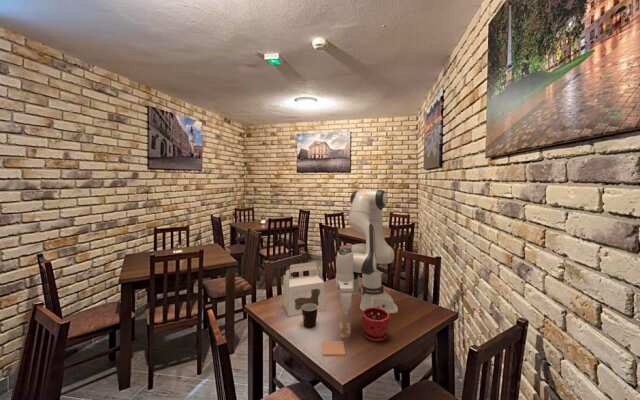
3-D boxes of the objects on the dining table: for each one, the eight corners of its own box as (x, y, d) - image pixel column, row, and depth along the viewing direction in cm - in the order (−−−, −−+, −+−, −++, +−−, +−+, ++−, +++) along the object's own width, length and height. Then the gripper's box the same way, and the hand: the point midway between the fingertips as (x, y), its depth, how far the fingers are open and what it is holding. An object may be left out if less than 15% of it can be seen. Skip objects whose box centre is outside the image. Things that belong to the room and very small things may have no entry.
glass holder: (360, 294, 191) (360, 273, 190) (339, 294, 191) (339, 273, 190) (358, 289, 200) (358, 268, 199) (338, 289, 200) (338, 269, 199)
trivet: (343, 342, 136) (343, 341, 136) (345, 355, 126) (345, 354, 126) (322, 342, 135) (322, 341, 135) (322, 355, 125) (322, 354, 125)
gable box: (288, 316, 161) (287, 268, 159) (283, 307, 174) (282, 262, 171) (324, 310, 169) (324, 264, 167) (317, 301, 181) (317, 258, 179)
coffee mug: (302, 321, 156) (302, 303, 156) (318, 321, 156) (318, 303, 155) (300, 332, 145) (300, 313, 144) (317, 332, 144) (317, 313, 144)
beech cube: (349, 332, 145) (349, 322, 145) (350, 337, 140) (350, 327, 140) (339, 332, 145) (339, 322, 145) (340, 337, 140) (340, 327, 140)
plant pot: (356, 336, 141) (356, 313, 140) (372, 326, 150) (372, 304, 149) (379, 347, 132) (379, 322, 131) (394, 336, 141) (394, 313, 140)
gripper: (336, 275, 151) (336, 300, 151) (340, 289, 130) (339, 318, 131) (348, 275, 151) (348, 300, 152) (353, 289, 130) (353, 318, 131)
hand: (344, 309), depth 141 cm, fingers open, 8 cm apart
